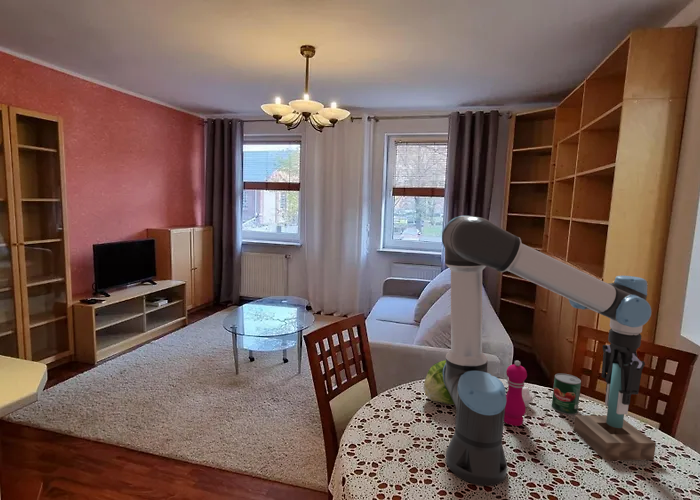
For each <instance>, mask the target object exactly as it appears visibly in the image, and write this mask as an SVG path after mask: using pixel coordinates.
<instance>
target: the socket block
mask: <svg viewBox="0 0 700 500" xmlns="http://www.w3.org/2000/svg"><path fill="white" fill-rule="evenodd" d="M606 419H607V415H594V414H593V415H592V414H591V415H589V414H587V415H585V414H583V415H582V414H575V415H574V421H573V422H574V423H573V432H574V433H576V434H577V435H578V436H579V437H580V438H581V439H582V440H583V441H584V443H586V444H587V445H588V446H589V447H590V448H591V449H593V451H594V452H596V454H598V455H599V456H600V457H601V458H602V459H603V460H605V461H606V460H607V461H654V460H655V453H656V447H657V443H656V442H655V441H654V440H652V439H651V438H650V437H648V436H647V435H645V434H644V433H643V432H641V431H640V430H639V429H638V428H636V427H635V426H633V425H632V424H631V423H629V421H627V420H625V419H624V420H623V427H622V428H615V427H612V426H610V425H608V424H607V423H606Z"/></svg>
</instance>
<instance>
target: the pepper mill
mask: <svg viewBox="0 0 700 500" xmlns="http://www.w3.org/2000/svg"><path fill="white" fill-rule="evenodd" d="M527 372H528V371H527V370H526V367H524V366H522V365H521V361H519V360H514V364H509V366H508V367H507V368H506V377H507V382H506V383H507V385H508V388H507V389H508V390H507V391H506V406H505V415H504V423H505V424H506V425H510V426H513V427H514V426H515V427H519V426H522V425H523V423H524V417H523V416H525V414H526V412H527V411H526V410H527V407H525V403H524V400H523V398H522V388H523V387H524V386H525V380H526V379H527V378H528V373H527Z"/></svg>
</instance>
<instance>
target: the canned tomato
mask: <svg viewBox="0 0 700 500" xmlns="http://www.w3.org/2000/svg"><path fill="white" fill-rule="evenodd" d="M553 381H554V383H553V389H552V399H551V408H552V409H553V410H554V411H555V412H558V413H560V414H563V415H568V416H573V415H574V416H575V415H578V412H579V411H578V410H579V402H580V393H581V387H582V380H581V379H580V378H578V377H577V376H575V375H572V374H567V373H556V374H555V375H554V380H553Z"/></svg>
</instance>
